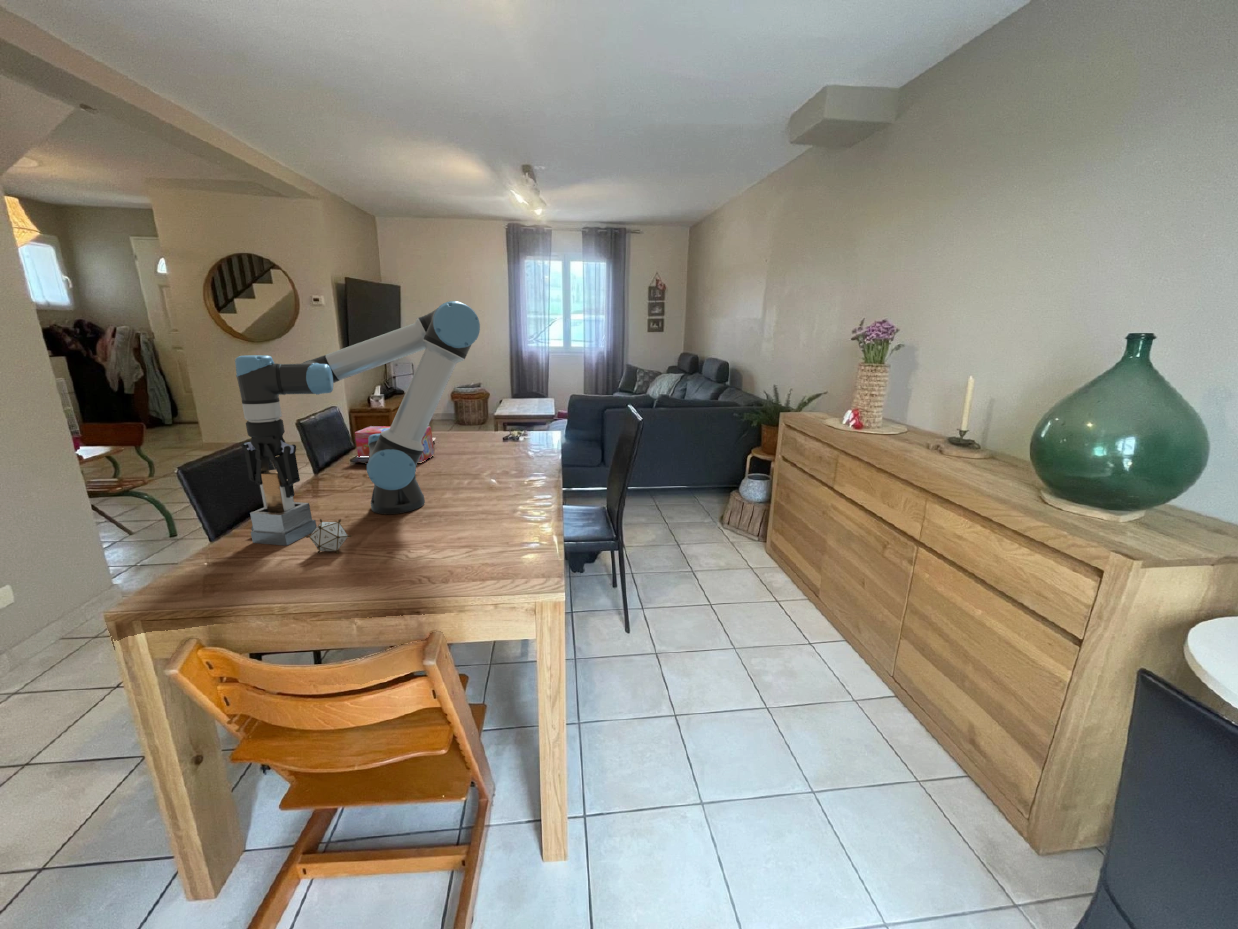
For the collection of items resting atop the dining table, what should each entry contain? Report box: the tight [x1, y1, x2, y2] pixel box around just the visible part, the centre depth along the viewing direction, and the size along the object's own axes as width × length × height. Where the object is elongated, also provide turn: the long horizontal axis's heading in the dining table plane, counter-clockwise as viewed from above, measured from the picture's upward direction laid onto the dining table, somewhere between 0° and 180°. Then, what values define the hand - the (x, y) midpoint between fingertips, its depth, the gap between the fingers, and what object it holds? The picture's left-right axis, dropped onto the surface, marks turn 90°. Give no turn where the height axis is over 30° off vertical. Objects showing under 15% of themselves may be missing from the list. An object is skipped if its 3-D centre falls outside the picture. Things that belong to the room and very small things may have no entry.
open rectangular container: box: [249, 501, 318, 546], centre depth 127 cm, size 14×10×8 cm
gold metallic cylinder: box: [261, 469, 285, 513], centre depth 125 cm, size 5×5×11 cm
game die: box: [304, 518, 353, 555], centre depth 118 cm, size 9×8×10 cm
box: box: [354, 425, 435, 462], centre depth 202 cm, size 27×13×14 cm, turn 87°
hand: (279, 508), depth 126 cm, fingers closed on gold metallic cylinder, 5 cm apart
